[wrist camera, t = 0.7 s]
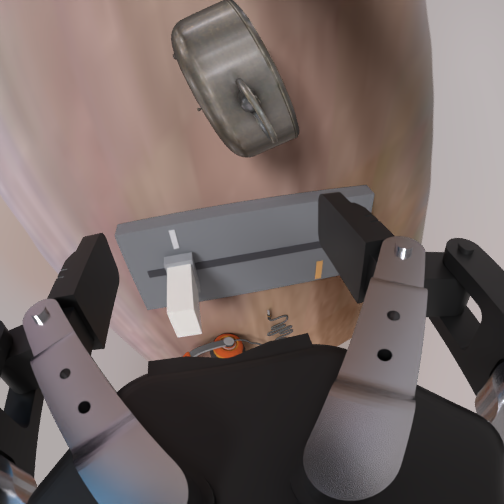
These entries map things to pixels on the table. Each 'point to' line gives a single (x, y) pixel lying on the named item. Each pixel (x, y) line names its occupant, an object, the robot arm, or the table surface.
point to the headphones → (234, 342)
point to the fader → (183, 294)
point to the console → (234, 245)
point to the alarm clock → (234, 79)
